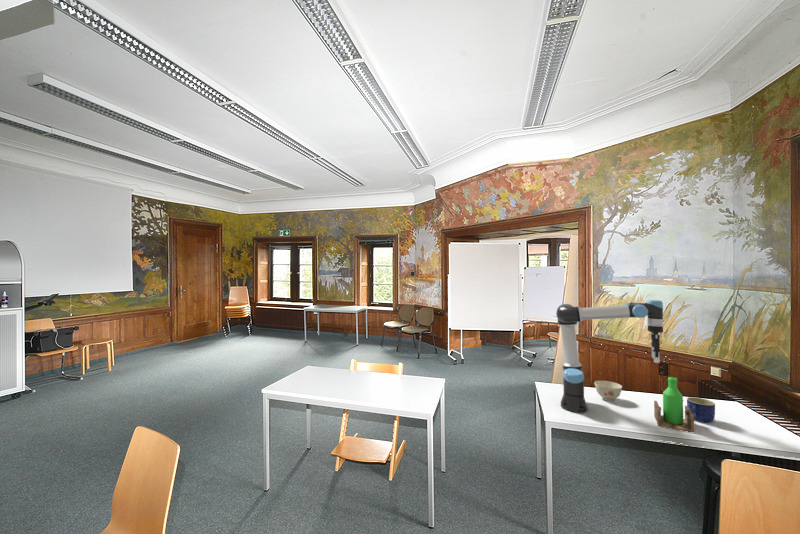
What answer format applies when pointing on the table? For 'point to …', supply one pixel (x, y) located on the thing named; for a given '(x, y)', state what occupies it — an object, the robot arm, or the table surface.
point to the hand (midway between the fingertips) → (655, 360)
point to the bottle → (672, 403)
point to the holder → (686, 426)
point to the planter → (701, 409)
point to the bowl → (608, 389)
